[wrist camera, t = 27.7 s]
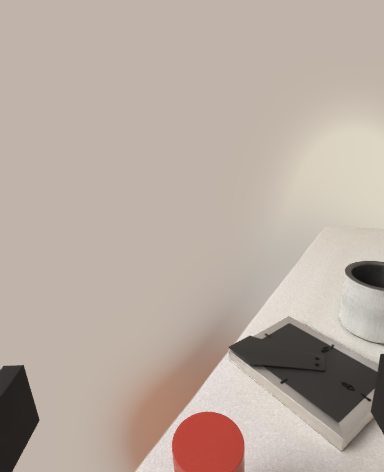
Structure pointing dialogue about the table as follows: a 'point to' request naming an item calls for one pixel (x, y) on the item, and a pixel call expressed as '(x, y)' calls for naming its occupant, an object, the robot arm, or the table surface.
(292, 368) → the picture frame
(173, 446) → the red tin
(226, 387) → the table surface
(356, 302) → the planter
